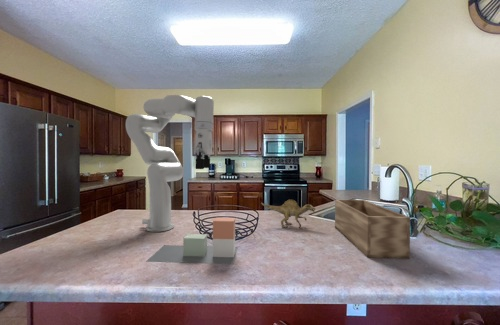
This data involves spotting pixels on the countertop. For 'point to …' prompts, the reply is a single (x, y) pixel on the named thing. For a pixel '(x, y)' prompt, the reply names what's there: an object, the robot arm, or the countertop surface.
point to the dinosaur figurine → (290, 211)
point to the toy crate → (373, 229)
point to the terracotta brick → (224, 228)
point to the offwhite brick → (223, 247)
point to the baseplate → (176, 255)
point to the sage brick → (195, 245)
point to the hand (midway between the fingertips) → (203, 168)
